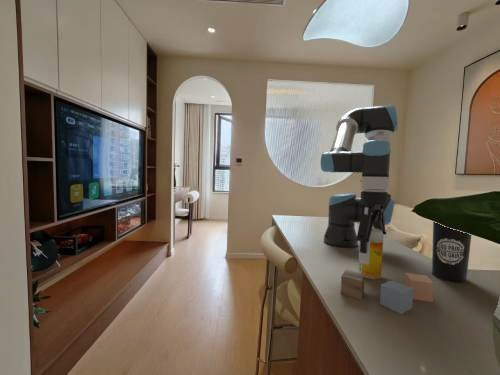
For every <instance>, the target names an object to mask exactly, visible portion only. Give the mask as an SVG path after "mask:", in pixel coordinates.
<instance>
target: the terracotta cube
mask: <svg viewBox="0 0 500 375" xmlns="http://www.w3.org/2000/svg"><path fill="white" fill-rule="evenodd" d="M434 284H435V283H434V282H433V281H432V280H431V279H430V277H428V276H427V275H426V274H416V273H409V272H404V284H403V285H406V286H408V287H411V288H413V300H415V301H416V300H417V301H423V302H428V303H429V302H430V303H433V302H434Z"/></svg>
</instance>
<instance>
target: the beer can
mask: <svg viewBox="0 0 500 375" xmlns="http://www.w3.org/2000/svg"><path fill="white" fill-rule="evenodd" d="M369 242H370V255H369V265H366V264H363V263H359V273H362V274H365V279H368V280H373V281H374V280H379V279H380V278H381V277H382V268H383V250H384V248H383V247H384V246H383V245H384V234H383V232H382V230H380V229H377V228H374V227H373V228H372V232H371V235H370V239H369Z"/></svg>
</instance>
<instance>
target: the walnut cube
mask: <svg viewBox="0 0 500 375" xmlns="http://www.w3.org/2000/svg"><path fill="white" fill-rule="evenodd" d="M340 279H341V280H340V281H341V283H340V294H341V295H344V296H347V297H350V298H354V299H358V300H362V298H363V295H364V293H365V281H366V280H365V279H366V278H365V274H362V273H360V272H356V271H352V270H348V269H345V270H344V272H343V273H342V274H341V278H340Z"/></svg>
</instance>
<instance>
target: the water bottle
mask: <svg viewBox="0 0 500 375" xmlns="http://www.w3.org/2000/svg"><path fill="white" fill-rule="evenodd" d="M471 242H472V235H469V234H467V233H463V232H460V231H457V230H453V229H450V228H447V227H444V226H442V225H440V224H438V223H435V222H433V221H432V249H431V251H432V253H431V254H432V255H431V256H432V257H431V262H432V263H431V274H432V275H433V276H434V277H436V278H438V279H441V280H442V281H446V282H451V283H459V284H460V283H466V282H467V279H468V278H467V277H468V269H469V261H470V252H471V251H470V250H471V244H472V243H471Z"/></svg>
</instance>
